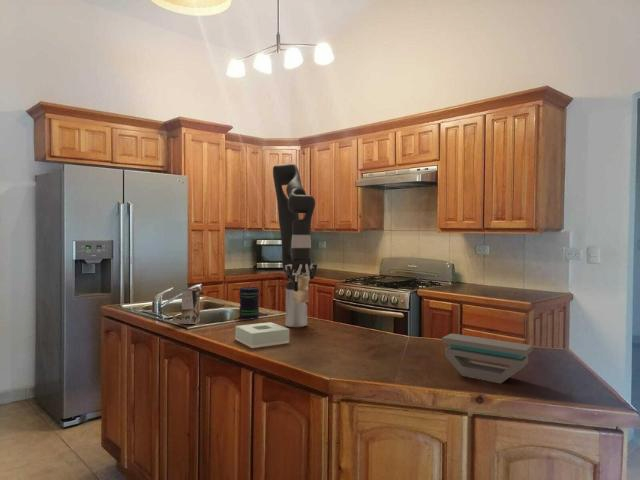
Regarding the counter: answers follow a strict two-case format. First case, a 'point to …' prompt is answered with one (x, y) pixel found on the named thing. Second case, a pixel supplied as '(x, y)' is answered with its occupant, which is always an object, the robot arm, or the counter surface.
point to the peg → (302, 289)
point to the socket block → (262, 334)
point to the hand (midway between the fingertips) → (300, 290)
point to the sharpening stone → (485, 356)
